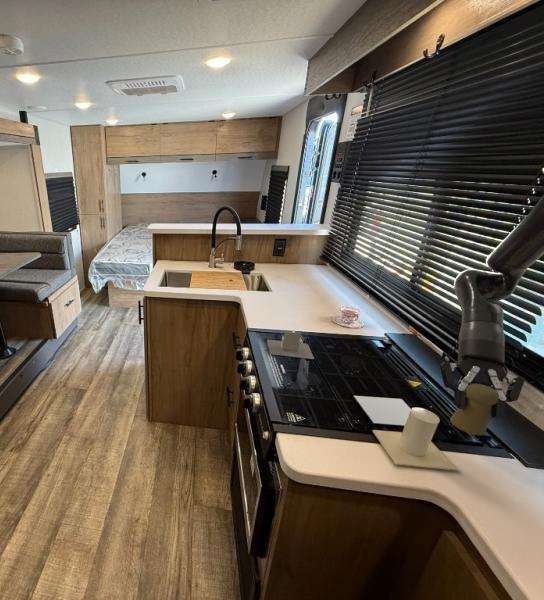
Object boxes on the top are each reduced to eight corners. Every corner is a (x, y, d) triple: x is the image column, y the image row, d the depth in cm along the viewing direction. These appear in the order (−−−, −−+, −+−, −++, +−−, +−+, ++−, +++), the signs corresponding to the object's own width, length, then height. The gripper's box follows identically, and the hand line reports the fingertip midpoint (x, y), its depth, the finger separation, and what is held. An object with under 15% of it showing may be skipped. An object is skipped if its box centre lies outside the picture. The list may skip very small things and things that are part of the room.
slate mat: (401, 400, 89) (401, 398, 89) (428, 428, 79) (428, 427, 79) (352, 396, 91) (353, 395, 91) (373, 424, 81) (373, 423, 81)
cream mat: (424, 435, 77) (424, 434, 77) (455, 470, 68) (456, 469, 68) (372, 431, 79) (372, 429, 78) (396, 464, 69) (396, 463, 69)
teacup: (326, 317, 141) (328, 305, 139) (350, 315, 142) (353, 303, 140) (344, 329, 130) (348, 316, 128) (370, 327, 131) (374, 314, 129)
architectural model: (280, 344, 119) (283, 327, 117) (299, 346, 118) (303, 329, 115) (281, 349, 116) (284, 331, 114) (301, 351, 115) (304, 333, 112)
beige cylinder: (416, 440, 75) (429, 408, 71) (430, 457, 70) (445, 424, 67) (393, 438, 76) (405, 406, 72) (406, 455, 71) (420, 422, 67)
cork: (462, 433, 71) (480, 395, 67) (443, 415, 76) (459, 378, 72) (493, 436, 70) (513, 397, 66) (471, 417, 75) (488, 380, 71)
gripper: (447, 331, 75) (442, 399, 70) (534, 346, 68) (535, 423, 63) (436, 341, 81) (430, 404, 76) (514, 355, 74) (514, 426, 69)
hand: (478, 412), depth 70 cm, fingers closed on cork, 5 cm apart
